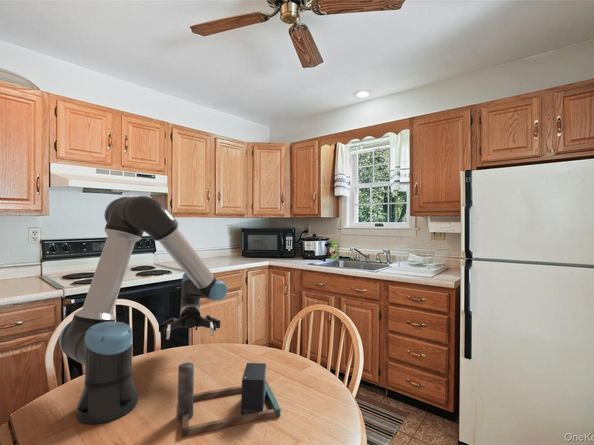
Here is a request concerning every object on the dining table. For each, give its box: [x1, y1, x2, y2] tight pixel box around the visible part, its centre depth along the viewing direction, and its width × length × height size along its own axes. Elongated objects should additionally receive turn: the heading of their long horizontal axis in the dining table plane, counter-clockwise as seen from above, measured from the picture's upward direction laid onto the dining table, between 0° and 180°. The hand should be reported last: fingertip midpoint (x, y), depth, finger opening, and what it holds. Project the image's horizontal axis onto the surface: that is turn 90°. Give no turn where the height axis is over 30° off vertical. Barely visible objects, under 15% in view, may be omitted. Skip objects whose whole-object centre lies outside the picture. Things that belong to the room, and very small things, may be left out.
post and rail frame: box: [177, 362, 281, 437], centre depth 88 cm, size 27×16×14 cm, turn 110°
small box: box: [240, 362, 267, 416], centre depth 90 cm, size 11×6×10 cm, turn 2°
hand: (190, 333), depth 99 cm, fingers open, 13 cm apart
